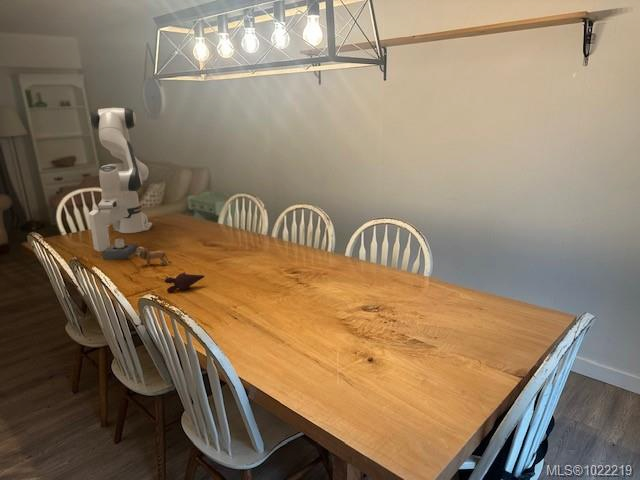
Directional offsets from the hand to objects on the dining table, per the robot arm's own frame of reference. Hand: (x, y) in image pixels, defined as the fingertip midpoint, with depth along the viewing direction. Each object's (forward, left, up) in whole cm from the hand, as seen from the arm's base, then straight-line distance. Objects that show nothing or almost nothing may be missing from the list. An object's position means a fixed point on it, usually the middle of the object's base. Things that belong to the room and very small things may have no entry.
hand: (117, 229), depth 218 cm
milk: (-10, -14, -13) cm, 22 cm away
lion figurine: (+15, +22, -13) cm, 29 cm away
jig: (0, 0, -13) cm, 13 cm away
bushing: (0, 0, -13) cm, 13 cm away
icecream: (+44, +45, -13) cm, 64 cm away
